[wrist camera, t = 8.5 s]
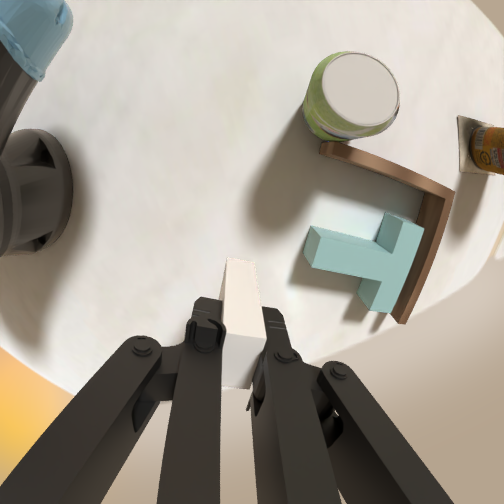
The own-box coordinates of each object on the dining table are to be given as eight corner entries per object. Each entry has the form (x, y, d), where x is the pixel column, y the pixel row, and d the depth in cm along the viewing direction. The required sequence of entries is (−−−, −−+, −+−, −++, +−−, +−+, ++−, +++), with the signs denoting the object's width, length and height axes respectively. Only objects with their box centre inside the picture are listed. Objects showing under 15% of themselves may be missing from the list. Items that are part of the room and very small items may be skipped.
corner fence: (281, 290, 30) (287, 309, 26) (321, 142, 25) (334, 141, 21) (391, 307, 32) (405, 324, 28) (434, 186, 27) (455, 191, 23)
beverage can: (361, 139, 25) (433, 138, 14) (293, 148, 25) (332, 144, 14) (350, 82, 23) (413, 48, 11) (280, 87, 23) (309, 42, 12)
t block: (293, 282, 30) (300, 300, 26) (319, 192, 27) (332, 199, 23) (376, 296, 31) (390, 313, 27) (405, 219, 28) (424, 228, 24)
